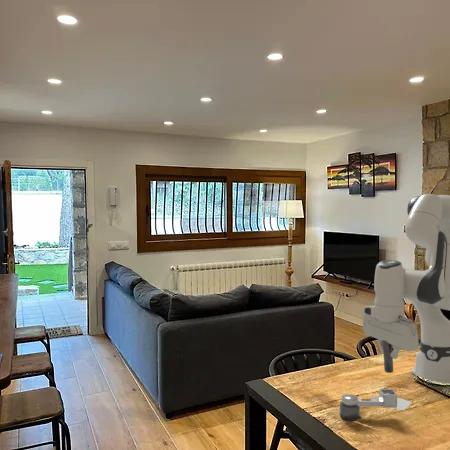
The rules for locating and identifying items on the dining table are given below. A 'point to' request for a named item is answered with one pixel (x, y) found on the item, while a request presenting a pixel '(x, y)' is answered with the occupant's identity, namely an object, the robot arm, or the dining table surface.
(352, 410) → the crank post
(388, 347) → the dark grey post
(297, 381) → the dining table surface
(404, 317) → the robot arm
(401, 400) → the mat
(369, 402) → the crank
